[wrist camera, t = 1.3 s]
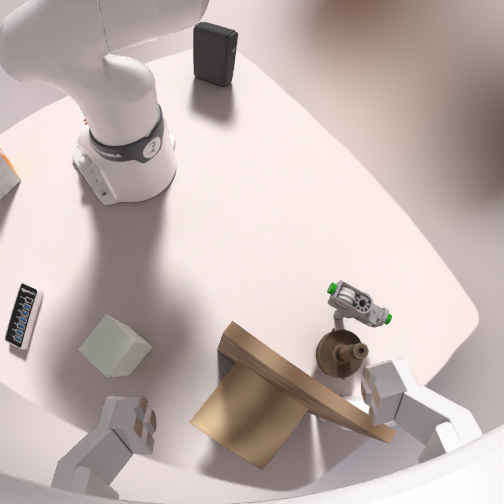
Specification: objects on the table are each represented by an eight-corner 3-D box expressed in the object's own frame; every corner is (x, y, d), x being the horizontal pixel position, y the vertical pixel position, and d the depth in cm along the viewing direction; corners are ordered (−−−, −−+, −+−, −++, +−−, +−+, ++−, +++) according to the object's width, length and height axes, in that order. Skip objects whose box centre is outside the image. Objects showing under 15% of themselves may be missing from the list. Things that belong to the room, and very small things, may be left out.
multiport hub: (10, 341, 43) (3, 340, 41) (27, 284, 47) (21, 281, 45) (28, 351, 43) (21, 350, 41) (45, 292, 47) (39, 289, 45)
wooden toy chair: (177, 399, 44) (143, 433, 20) (221, 343, 48) (232, 320, 24) (268, 460, 42) (320, 534, 18) (309, 404, 46) (396, 431, 22)
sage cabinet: (106, 354, 45) (77, 350, 34) (129, 326, 47) (105, 313, 36) (129, 375, 45) (106, 377, 33) (152, 346, 47) (135, 340, 35)
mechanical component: (359, 335, 51) (388, 327, 42) (307, 308, 52) (328, 295, 42) (365, 320, 52) (395, 309, 43) (314, 293, 53) (336, 276, 43)
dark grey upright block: (234, 81, 68) (241, 29, 54) (226, 90, 66) (231, 37, 53) (201, 69, 68) (203, 19, 54) (192, 77, 67) (192, 26, 53)
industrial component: (310, 329, 51) (337, 318, 39) (351, 333, 51) (386, 322, 40) (305, 387, 47) (332, 392, 36) (347, 388, 48) (382, 392, 37)
